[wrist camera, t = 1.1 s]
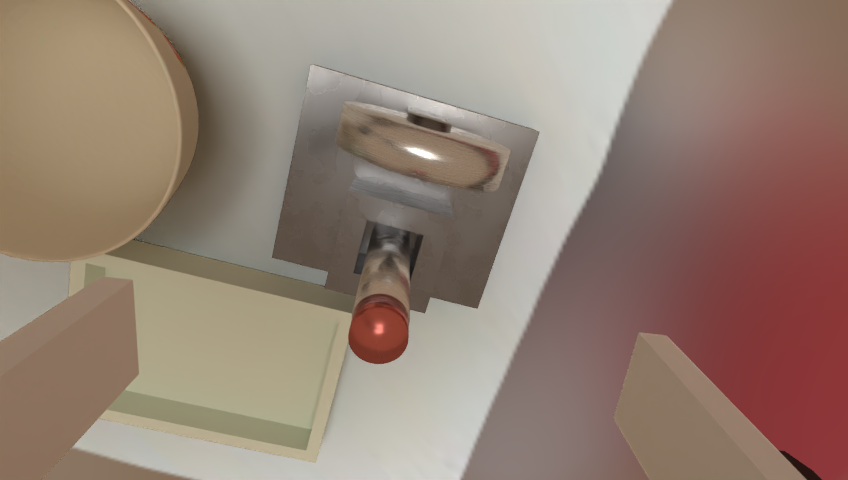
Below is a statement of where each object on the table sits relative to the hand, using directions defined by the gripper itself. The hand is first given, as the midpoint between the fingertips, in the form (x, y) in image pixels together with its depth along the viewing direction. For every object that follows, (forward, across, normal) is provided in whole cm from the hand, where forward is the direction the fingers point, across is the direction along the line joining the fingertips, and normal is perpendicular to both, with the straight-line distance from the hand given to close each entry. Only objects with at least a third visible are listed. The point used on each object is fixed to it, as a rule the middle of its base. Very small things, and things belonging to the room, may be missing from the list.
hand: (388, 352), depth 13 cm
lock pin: (+23, 0, -4) cm, 24 cm away
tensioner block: (+25, 0, -1) cm, 25 cm away
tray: (+25, -13, -16) cm, 32 cm away
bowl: (+25, -20, +3) cm, 32 cm away
